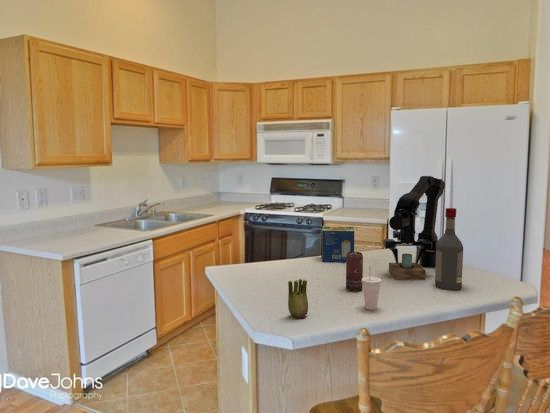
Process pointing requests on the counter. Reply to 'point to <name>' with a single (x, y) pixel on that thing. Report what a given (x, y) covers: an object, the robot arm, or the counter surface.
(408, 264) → the pin
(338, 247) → the protein box
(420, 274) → the socket block
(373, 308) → the smoothie
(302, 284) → the fennel bulb
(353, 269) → the can
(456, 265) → the liquor
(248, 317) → the counter surface
